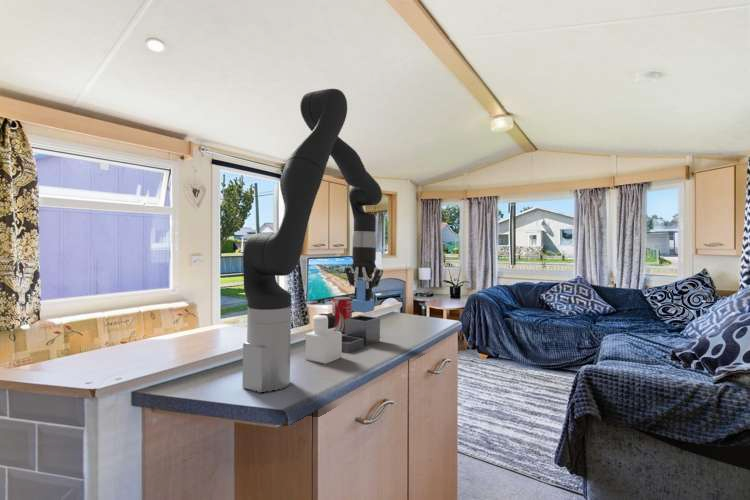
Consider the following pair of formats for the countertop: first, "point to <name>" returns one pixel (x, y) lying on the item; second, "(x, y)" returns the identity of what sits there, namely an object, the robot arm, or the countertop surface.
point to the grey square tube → (363, 328)
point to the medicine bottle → (323, 340)
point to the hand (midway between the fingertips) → (363, 299)
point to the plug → (362, 299)
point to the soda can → (341, 312)
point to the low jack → (351, 343)
